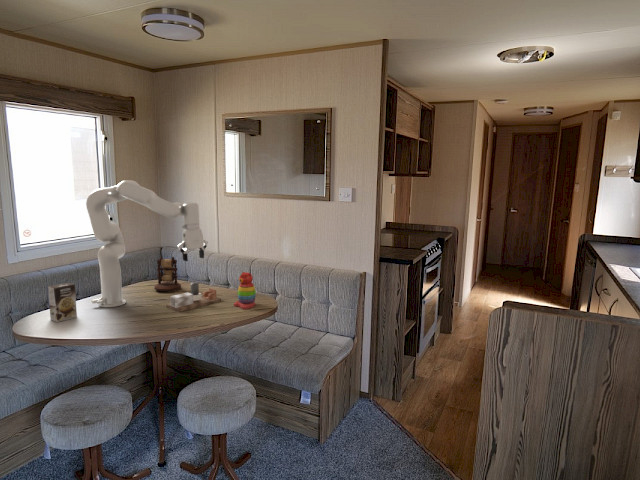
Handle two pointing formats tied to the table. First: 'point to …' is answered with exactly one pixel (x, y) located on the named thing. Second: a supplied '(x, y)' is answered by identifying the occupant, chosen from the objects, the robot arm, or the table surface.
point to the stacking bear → (246, 292)
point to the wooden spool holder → (167, 275)
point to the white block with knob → (195, 291)
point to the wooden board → (186, 300)
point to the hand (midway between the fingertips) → (193, 259)
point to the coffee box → (62, 302)
